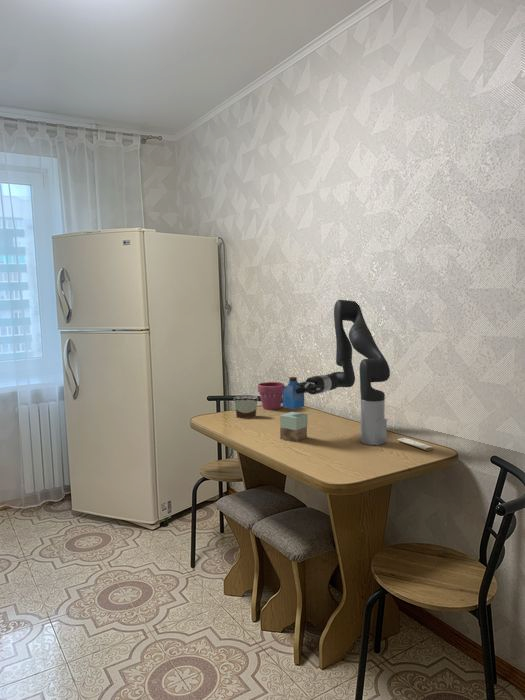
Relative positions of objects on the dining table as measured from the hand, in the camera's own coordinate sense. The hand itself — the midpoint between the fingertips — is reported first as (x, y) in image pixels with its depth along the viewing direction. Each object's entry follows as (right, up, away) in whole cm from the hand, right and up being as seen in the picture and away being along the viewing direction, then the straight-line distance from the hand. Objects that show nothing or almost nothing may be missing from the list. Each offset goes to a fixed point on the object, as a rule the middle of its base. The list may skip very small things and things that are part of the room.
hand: (290, 390), depth 209 cm
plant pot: (-7, -14, +61) cm, 63 cm away
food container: (-19, -16, +43) cm, 50 cm away
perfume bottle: (+1, -7, +2) cm, 7 cm away
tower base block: (+1, -20, +3) cm, 20 cm away
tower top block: (+1, -15, +2) cm, 15 cm away
